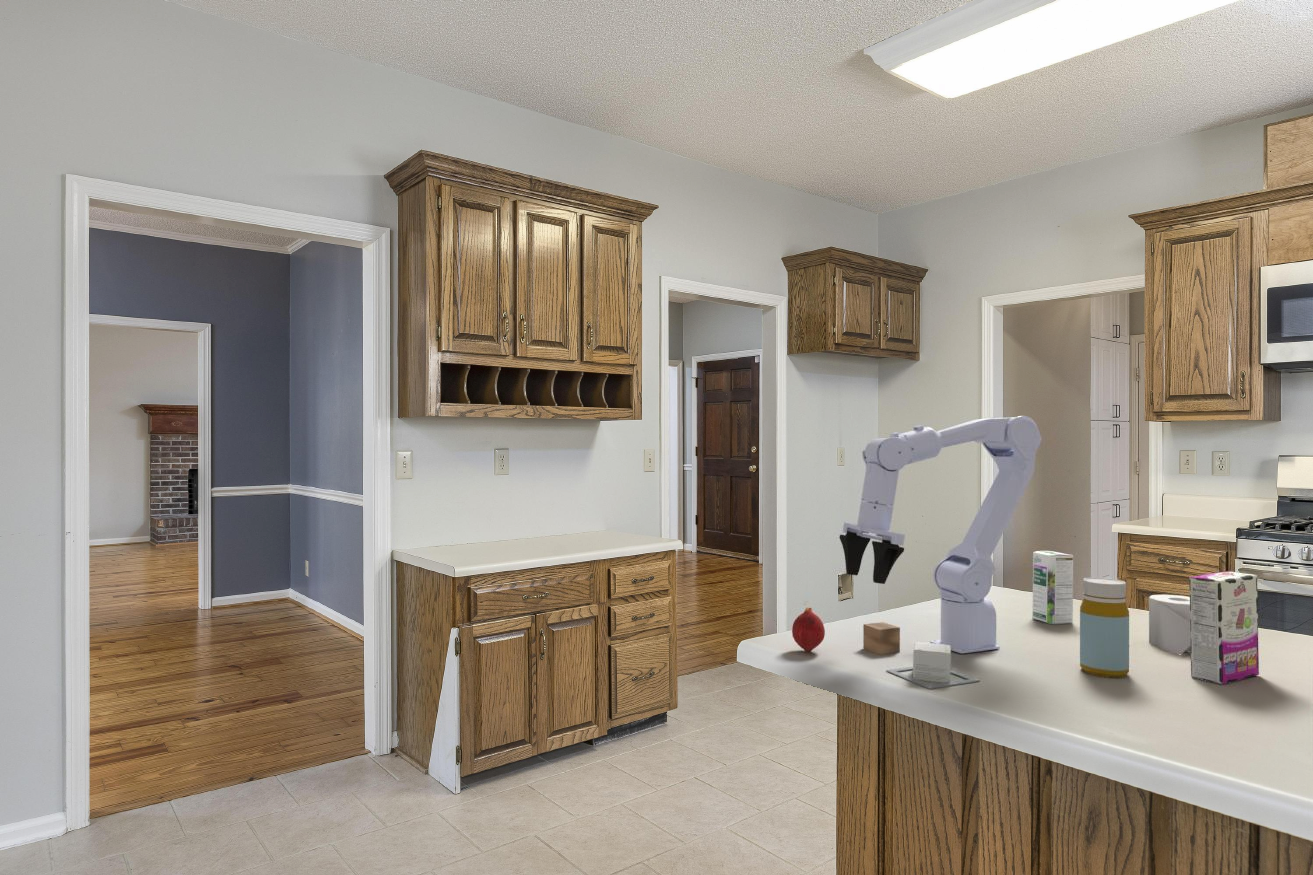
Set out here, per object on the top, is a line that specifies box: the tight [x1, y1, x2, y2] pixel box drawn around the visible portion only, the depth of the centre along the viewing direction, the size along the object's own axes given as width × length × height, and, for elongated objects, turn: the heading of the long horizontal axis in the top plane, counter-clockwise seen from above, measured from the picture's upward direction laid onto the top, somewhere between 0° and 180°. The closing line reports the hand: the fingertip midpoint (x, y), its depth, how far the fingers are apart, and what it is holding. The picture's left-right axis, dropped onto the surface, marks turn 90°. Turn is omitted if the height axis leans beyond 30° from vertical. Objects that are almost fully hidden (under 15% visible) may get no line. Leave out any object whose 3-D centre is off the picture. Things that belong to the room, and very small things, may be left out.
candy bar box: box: [1188, 571, 1260, 685], centre depth 127 cm, size 11×5×16 cm, turn 118°
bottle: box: [1079, 577, 1130, 679], centre depth 129 cm, size 7×7×15 cm
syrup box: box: [1031, 550, 1074, 625], centre depth 166 cm, size 6×6×14 cm
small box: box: [912, 641, 952, 684], centre depth 126 cm, size 6×6×5 cm
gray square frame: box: [885, 666, 980, 690], centre depth 126 cm, size 10×10×1 cm
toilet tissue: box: [1148, 594, 1191, 655], centre depth 144 cm, size 9×13×9 cm
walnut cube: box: [862, 621, 901, 656], centre depth 142 cm, size 4×4×4 cm
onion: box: [791, 606, 826, 653], centre depth 140 cm, size 6×6×8 cm
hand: (865, 578), depth 140 cm, fingers open, 7 cm apart
